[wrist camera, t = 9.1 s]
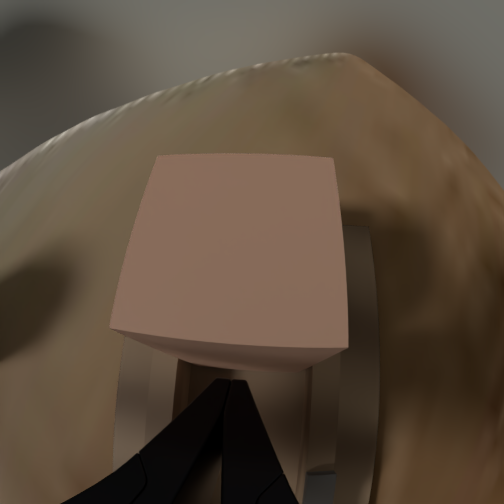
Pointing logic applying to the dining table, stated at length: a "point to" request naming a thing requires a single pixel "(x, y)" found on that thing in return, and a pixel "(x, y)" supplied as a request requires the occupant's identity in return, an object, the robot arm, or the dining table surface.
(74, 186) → the dining table surface
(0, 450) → the dining table surface
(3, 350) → the dining table surface
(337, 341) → the terracotta block
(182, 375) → the walnut chute
